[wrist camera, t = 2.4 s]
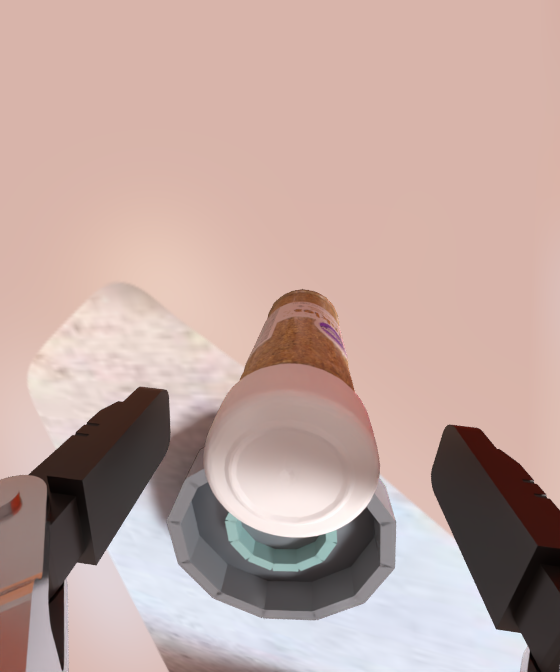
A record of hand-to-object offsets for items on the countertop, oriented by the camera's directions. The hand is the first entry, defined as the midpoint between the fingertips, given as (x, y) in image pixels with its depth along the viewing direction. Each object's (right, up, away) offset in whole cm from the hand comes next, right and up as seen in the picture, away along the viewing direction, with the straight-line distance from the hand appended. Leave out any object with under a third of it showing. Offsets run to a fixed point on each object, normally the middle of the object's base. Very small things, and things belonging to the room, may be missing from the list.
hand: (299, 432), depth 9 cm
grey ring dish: (0, -11, +16) cm, 20 cm away
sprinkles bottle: (+1, +4, +11) cm, 12 cm away
